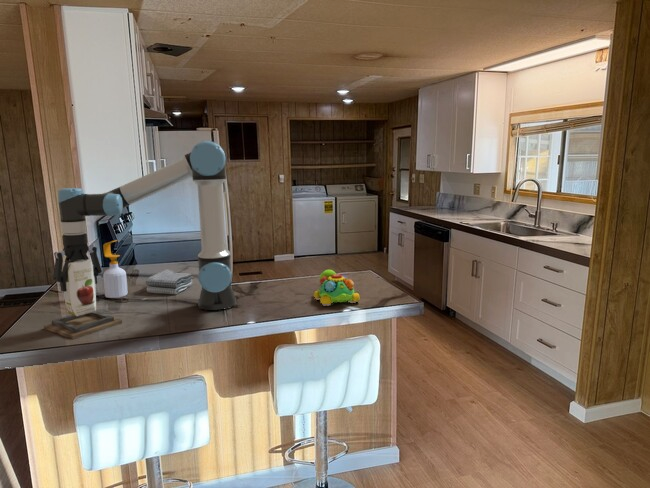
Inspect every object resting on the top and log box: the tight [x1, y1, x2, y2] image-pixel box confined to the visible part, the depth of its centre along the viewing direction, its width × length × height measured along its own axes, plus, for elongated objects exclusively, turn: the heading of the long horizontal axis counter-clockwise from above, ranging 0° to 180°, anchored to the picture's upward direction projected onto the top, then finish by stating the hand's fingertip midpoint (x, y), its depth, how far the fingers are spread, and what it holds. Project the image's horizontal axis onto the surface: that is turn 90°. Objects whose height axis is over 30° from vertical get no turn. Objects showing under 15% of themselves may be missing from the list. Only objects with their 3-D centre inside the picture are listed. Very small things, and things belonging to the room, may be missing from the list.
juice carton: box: [62, 258, 97, 316], centre depth 158 cm, size 8×9×19 cm
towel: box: [145, 268, 194, 295], centre depth 207 cm, size 15×18×8 cm
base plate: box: [43, 310, 123, 340], centre depth 161 cm, size 18×18×3 cm
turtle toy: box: [313, 269, 361, 304], centre depth 190 cm, size 17×23×12 cm
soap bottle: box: [102, 239, 128, 299], centre depth 196 cm, size 9×9×25 cm
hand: (80, 296), depth 159 cm, fingers closed on juice carton, 9 cm apart
